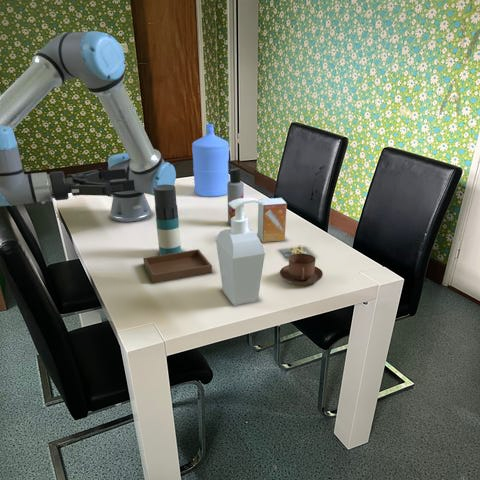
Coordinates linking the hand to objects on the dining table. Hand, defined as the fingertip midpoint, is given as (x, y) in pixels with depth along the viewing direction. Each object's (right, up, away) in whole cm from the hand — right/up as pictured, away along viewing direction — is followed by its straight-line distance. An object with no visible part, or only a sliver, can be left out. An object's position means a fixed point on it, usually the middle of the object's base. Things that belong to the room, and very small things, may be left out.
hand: (129, 179), depth 132 cm
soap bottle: (+32, -34, -8) cm, 47 cm away
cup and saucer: (+49, -29, 0) cm, 57 cm away
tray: (+13, -25, +6) cm, 29 cm away
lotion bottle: (+30, -5, +38) cm, 49 cm away
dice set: (+49, -20, +15) cm, 55 cm away
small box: (+42, -13, +26) cm, 51 cm away
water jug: (+19, +16, +73) cm, 77 cm away
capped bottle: (+9, -19, +16) cm, 26 cm away
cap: (+9, -9, +10) cm, 16 cm away
